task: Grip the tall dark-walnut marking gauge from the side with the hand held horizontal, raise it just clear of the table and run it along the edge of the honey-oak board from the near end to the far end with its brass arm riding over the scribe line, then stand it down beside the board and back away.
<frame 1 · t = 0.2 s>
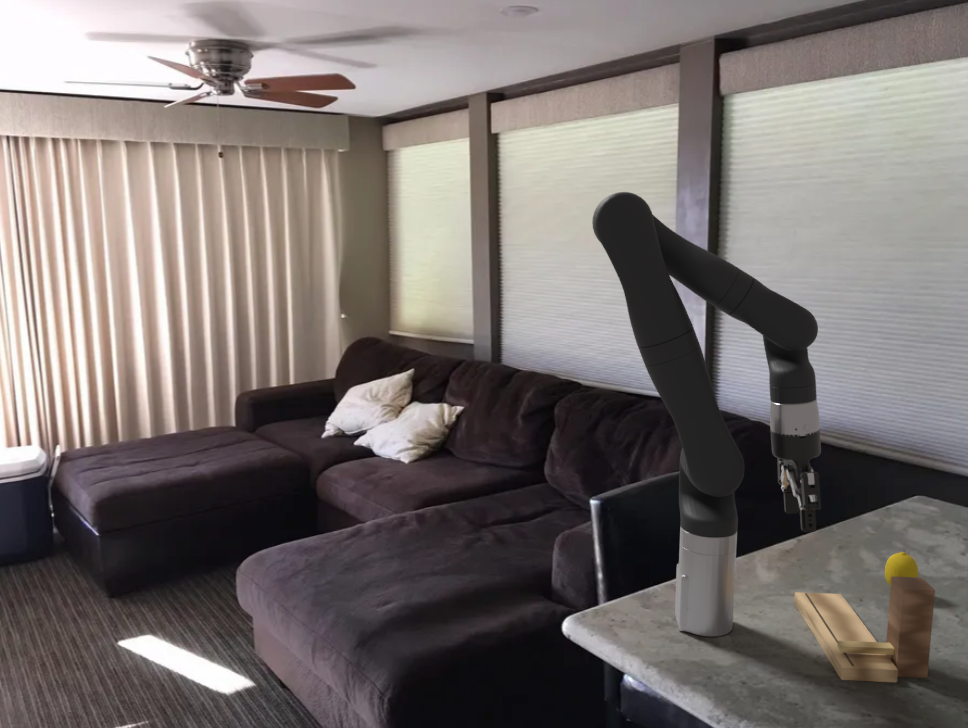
hand: (800, 521, 137), 19 cm above the countertop, tool pointing down, fingers open, 8 cm apart
board: (840, 638, 136), on the countertop
lemon: (899, 593, 153), on the countertop
gauge: (905, 669, 127), on the countertop
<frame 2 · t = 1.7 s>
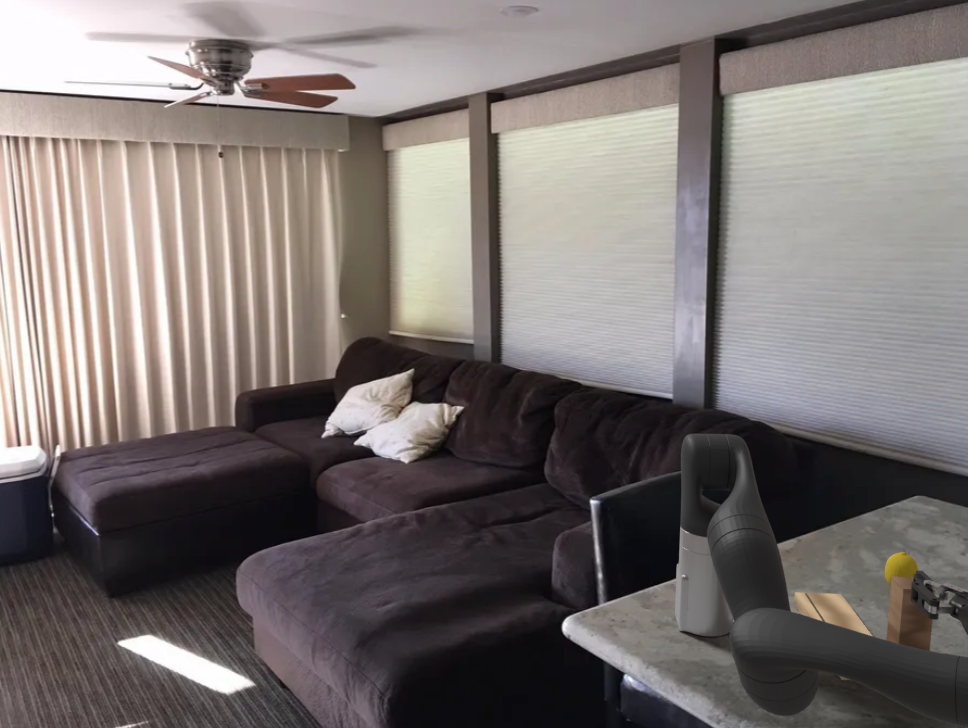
hand: (951, 578, 113), 20 cm above the countertop, tool horizontal, fingers open, 8 cm apart
nothing on the countertop moved.
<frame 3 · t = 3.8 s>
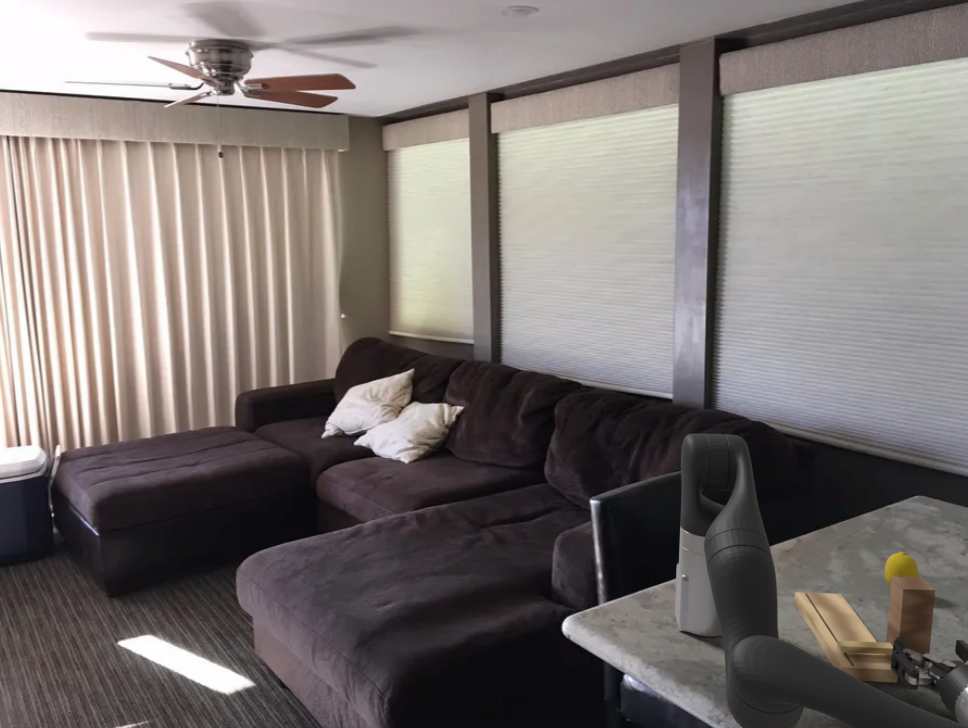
hand: (927, 644, 119), 7 cm above the countertop, tool horizontal, fingers open, 8 cm apart
nothing on the countertop moved.
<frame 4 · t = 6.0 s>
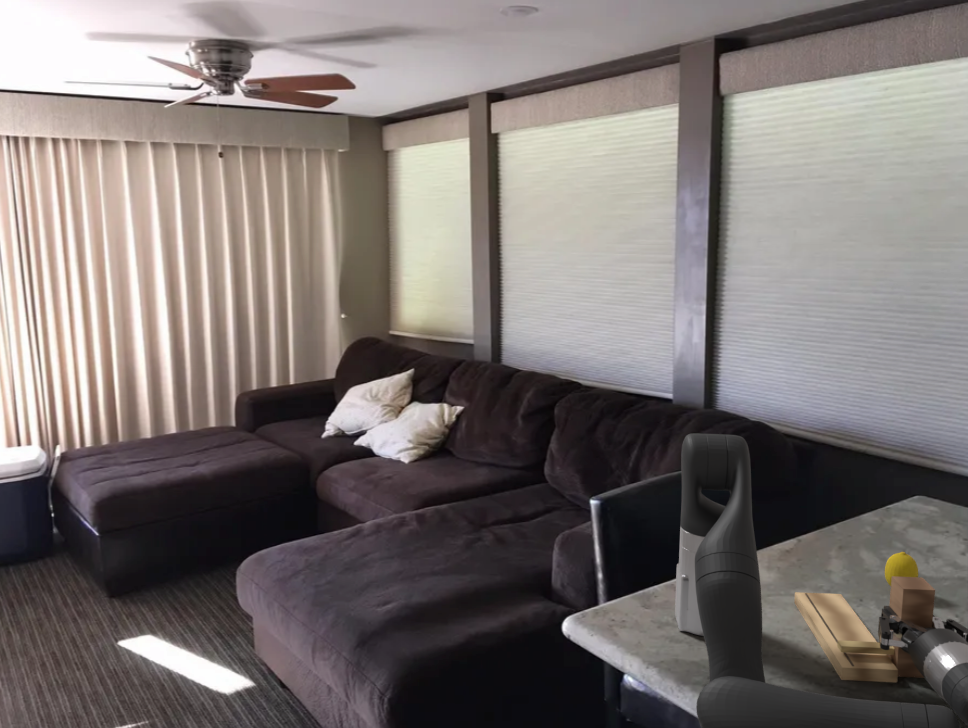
hand: (903, 612, 128), 8 cm above the countertop, tool horizontal, fingers closed on gauge, 4 cm apart
gauge: (905, 669, 127), on the countertop, touching gripper
everything else where it was.
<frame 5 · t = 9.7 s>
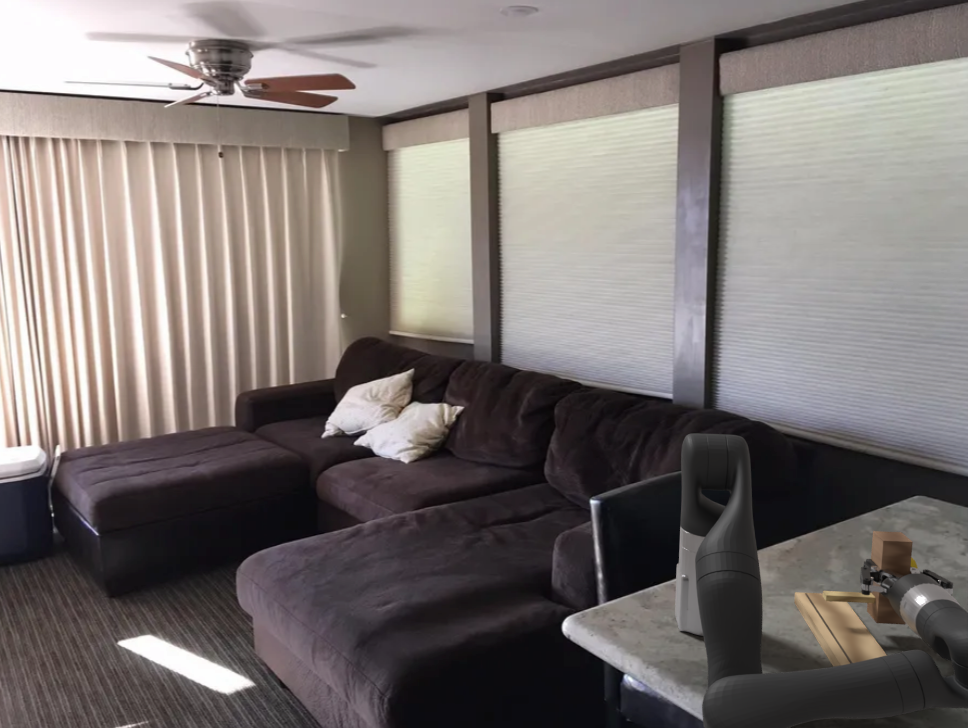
hand: (883, 565, 138), 11 cm above the countertop, tool horizontal, fingers closed on gauge, 4 cm apart
gauge: (885, 617, 137), point 3 cm above the countertop, touching gripper
everything else where it was.
when the fingers open (8 cm above the countertop, at t = 13.7 s): gauge stays where it is, on the countertop.
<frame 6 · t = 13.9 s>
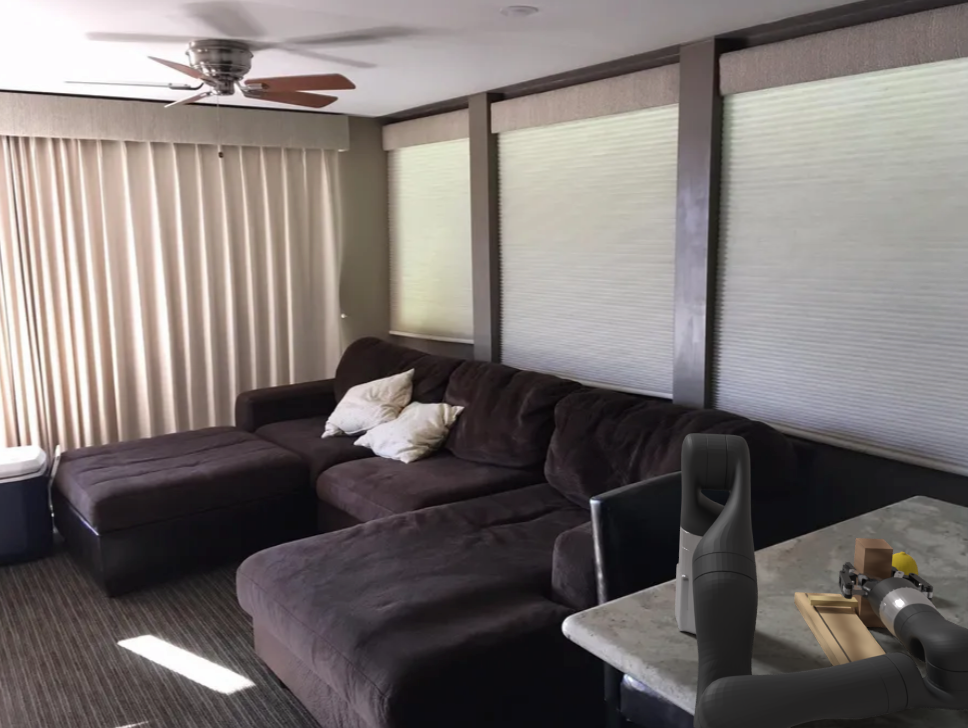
hand: (866, 568, 143), 9 cm above the countertop, tool horizontal, fingers open, 6 cm apart
gauge: (868, 620, 143), on the countertop
everything else where it was.
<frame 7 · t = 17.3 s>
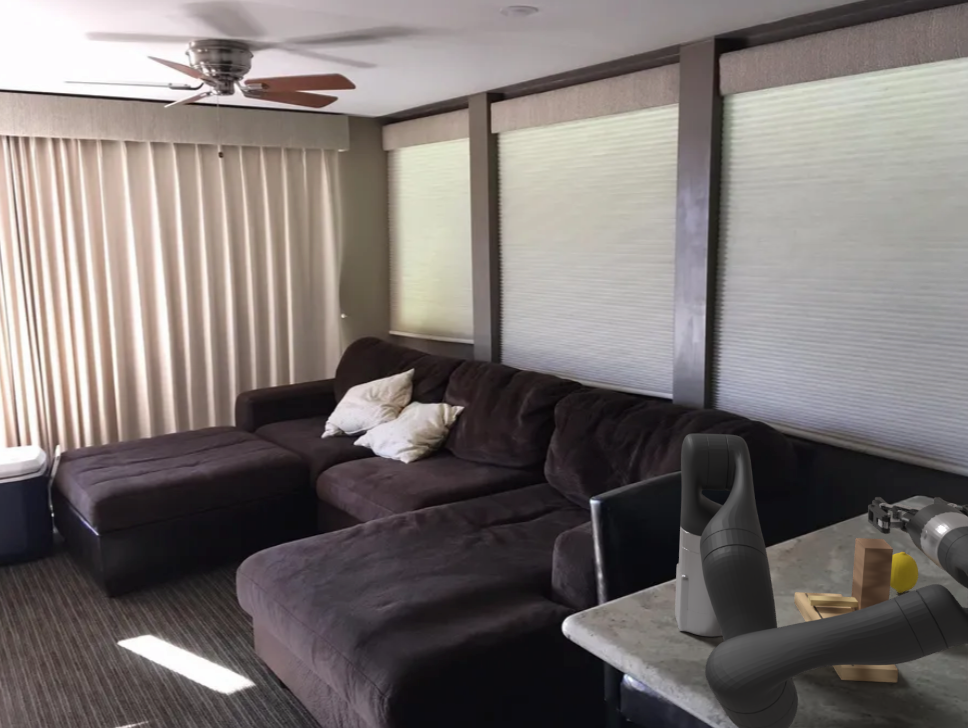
hand: (906, 503, 127), 25 cm above the countertop, tool horizontal, fingers open, 8 cm apart
nothing on the countertop moved.
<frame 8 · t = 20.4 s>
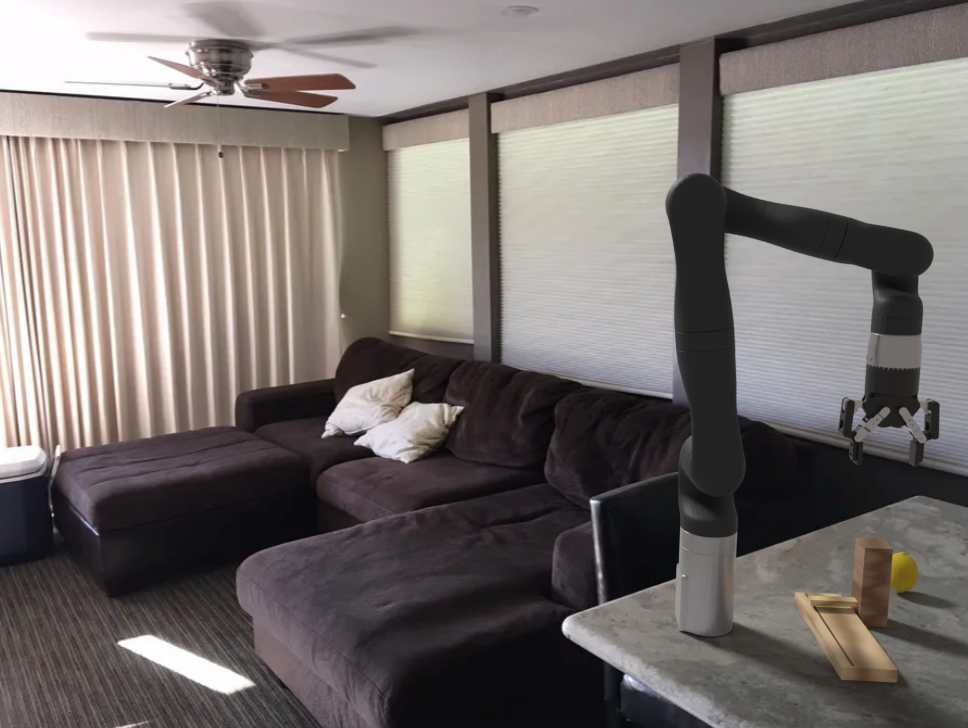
hand: (885, 464, 130), 30 cm above the countertop, tool pointing down, fingers open, 8 cm apart
nothing on the countertop moved.
at the end: gauge inside the target area (0.6 cm from its centre), on the countertop; gauge tilted 0°; the gripper is holding nothing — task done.
